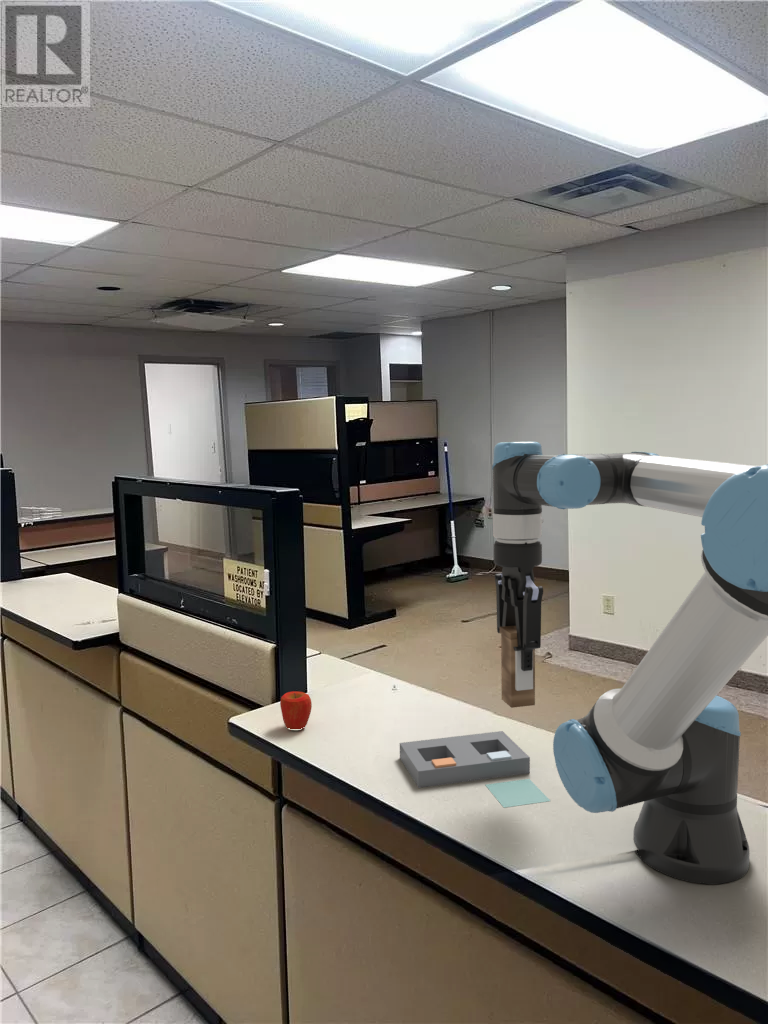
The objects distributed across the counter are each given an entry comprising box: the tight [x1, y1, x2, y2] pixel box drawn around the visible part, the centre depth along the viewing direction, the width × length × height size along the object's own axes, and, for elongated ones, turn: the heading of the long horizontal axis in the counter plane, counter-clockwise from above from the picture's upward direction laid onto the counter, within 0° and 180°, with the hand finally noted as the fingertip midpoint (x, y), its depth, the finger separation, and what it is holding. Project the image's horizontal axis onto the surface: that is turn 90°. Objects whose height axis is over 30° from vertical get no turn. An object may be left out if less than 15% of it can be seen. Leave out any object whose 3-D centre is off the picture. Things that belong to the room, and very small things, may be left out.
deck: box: [484, 778, 551, 809], centre depth 121 cm, size 8×8×1 cm
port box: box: [399, 730, 531, 789], centre depth 132 cm, size 12×20×4 cm, turn 104°
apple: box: [279, 691, 313, 729], centre depth 153 cm, size 6×6×8 cm
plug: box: [499, 626, 536, 709], centre depth 119 cm, size 4×4×12 cm
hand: (518, 684), depth 119 cm, fingers closed on plug, 4 cm apart
